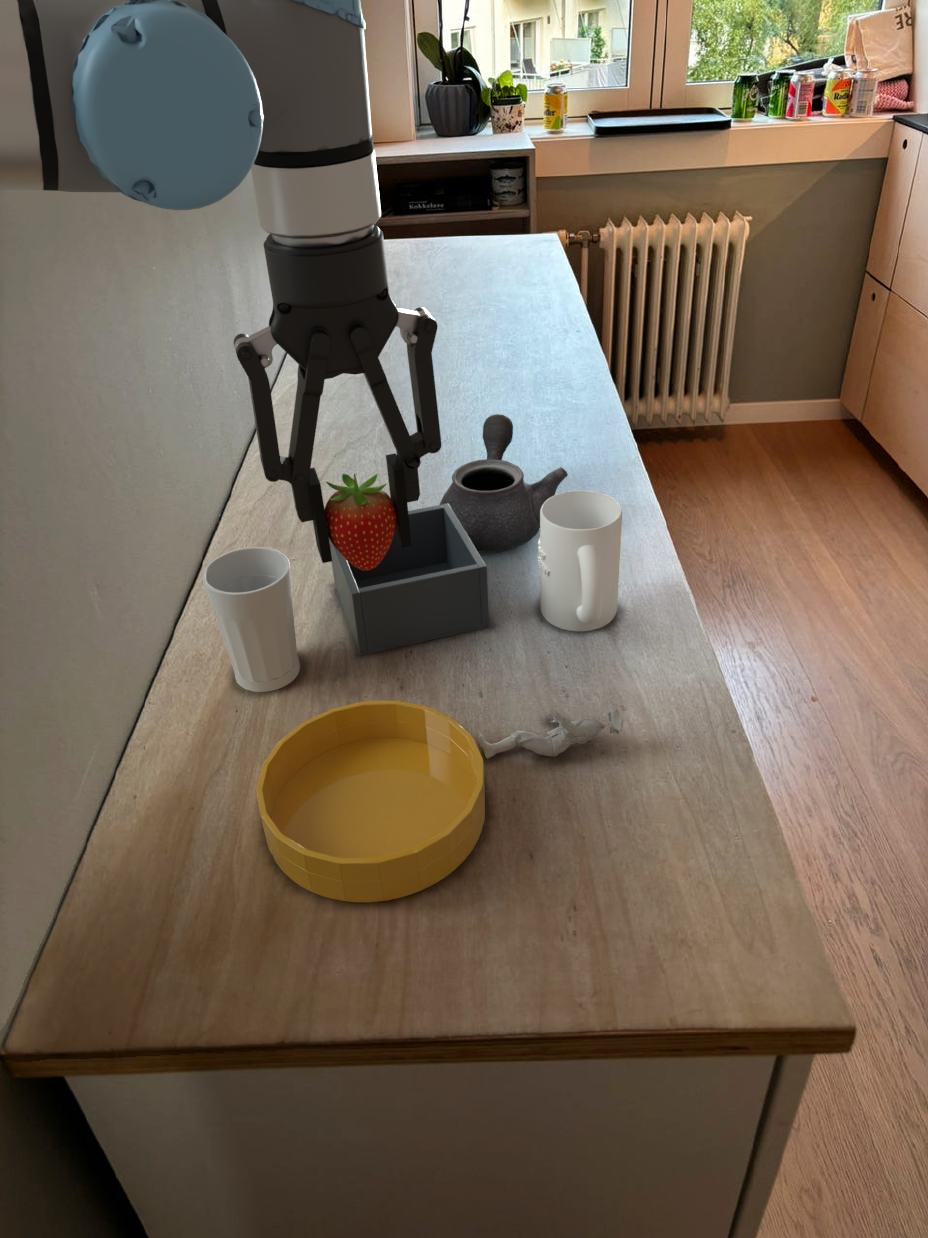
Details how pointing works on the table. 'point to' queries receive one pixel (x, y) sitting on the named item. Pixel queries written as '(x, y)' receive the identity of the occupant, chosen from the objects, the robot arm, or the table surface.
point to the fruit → (360, 522)
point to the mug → (579, 559)
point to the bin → (416, 586)
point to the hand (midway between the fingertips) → (363, 544)
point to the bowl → (372, 800)
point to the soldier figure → (555, 735)
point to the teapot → (498, 494)
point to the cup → (255, 615)
